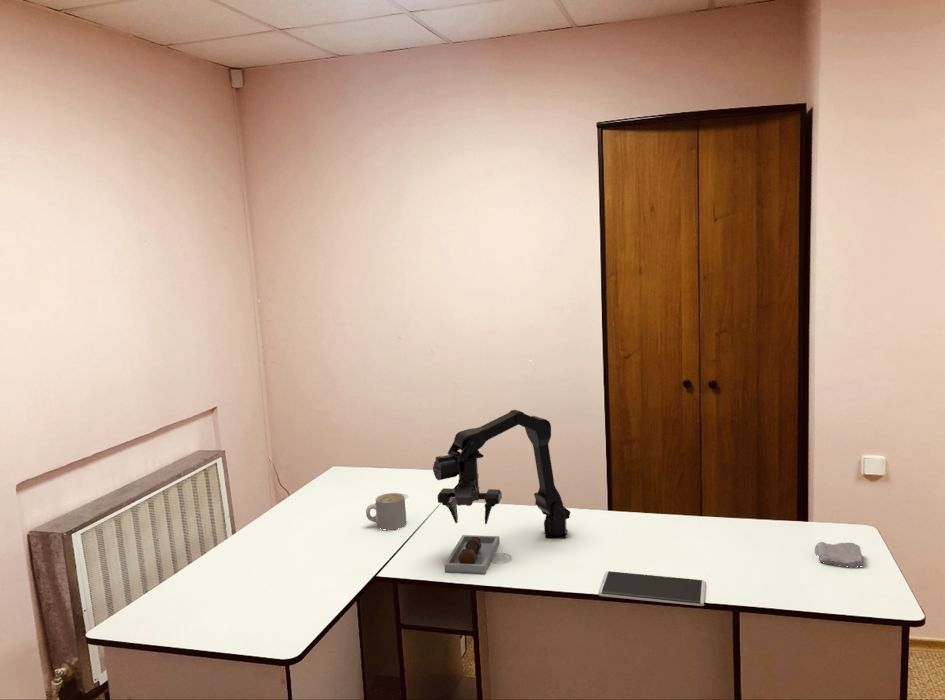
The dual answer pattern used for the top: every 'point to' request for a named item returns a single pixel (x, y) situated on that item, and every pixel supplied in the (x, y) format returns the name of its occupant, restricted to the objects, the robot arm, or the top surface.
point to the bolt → (470, 551)
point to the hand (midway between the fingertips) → (471, 523)
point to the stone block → (840, 554)
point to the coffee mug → (389, 511)
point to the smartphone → (653, 588)
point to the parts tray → (483, 555)
